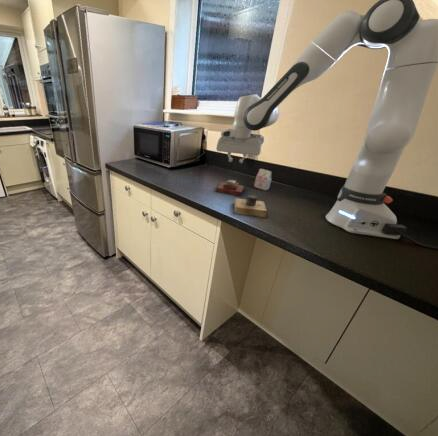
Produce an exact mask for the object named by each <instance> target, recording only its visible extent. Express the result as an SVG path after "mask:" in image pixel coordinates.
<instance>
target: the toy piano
mask: <svg viewBox="0 0 438 436" xmlns="http://www.w3.org/2000/svg"><path fill="white" fill-rule="evenodd" d="M228 181H229V180H226V181H225V182H223V181H222V182H220V183H219V184H218V186H217V187H216V190H215V191H216V193H221V194H227V195H232V196H238V197H241V196H242V194H243V191H244V189H245V185H240V183H239V182H237V181H236V184H235V185H229V184H227V183H228Z"/></svg>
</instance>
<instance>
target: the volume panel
mask: <svg viewBox="0 0 438 436" xmlns="http://www.w3.org/2000/svg"><path fill="white" fill-rule="evenodd" d="M246 199H247V198H246ZM246 199H245V198H237V197H235V198H234V203H233V206H234V214H236V215H237V214H238V215H245V216H253V217H259V218H266V217H267V214H268V210H267V207H266V203H265V201H263V200H257V201H256V205H255V206H249V205H247V204H246Z"/></svg>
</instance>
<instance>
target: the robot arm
mask: <svg viewBox="0 0 438 436" xmlns="http://www.w3.org/2000/svg"><path fill="white" fill-rule="evenodd" d="M355 46H359V47H363V48H366V49H370V50H381V49H387V50H388V56H387V61H386V64H385V68H384V71H383V75H382V78H381V82H380V85H379V88H378V92H377V96H376V98H375V99H376V100H375V102H374V106H373V108H372V111H371V114H370V118H369V121H368V124H367V128H366V131H365V135H364V139H363V142H362V145H361V147H360V149H359V152H358V154H357V156H356V157H355V160H354V162H353V164H352V166H351V169H350V171H349V174H348V175H347V178H346V180H345V183H344V184H343V185H342V186H341V188H340V190H339V192H338V194H337V196H336V197H337V200H336V201H335V203H334V205H333V206H332V208H331V209H330V210H329V212H327V213H326V214H325V219H326V221H327V222H329V223H331V224H332V225H335V226H336V227H339V228H341V229H343V230H344V231H346V232H348V233H351V234H358V235H364V236H365V235H366V236H372V237H379V238H385V239H393V240H399V239H400V238H401V236H402V237H403V238H405V239H407V240H408V241H410V242H411V243H413V244H415V245H417V246H420V247H423V248H428V249H433V250H438V246H434V245H430V244H426V243H422V242H418V241H417V240H415V239H413V238H412V237H410V236H409V235H407V234H405V233H406V232H407V230H408V227H406V226H405V225H404V224H398V219H397V216H396V214H395V213H394V212H393V211H392V210H391V209H390V208H389V206H388V205H386V204H391V203H392V202H393V198H392V197H391V196H389V195H387V194H386V193H385V192H384V190H385V189H386V187H387V185H388V183H389V181H390V180H391V177H392V175H393V173H394V172H395V169H396V167H397V165H398V162H399V161H400V159H401V156H402V154H403V152H404V150H405V148H406V147H407V146H408V145H409V144H410V143H411V142H412V140H413V139H414V137H415V133H416V130H417V127H418V124H419V121H420V118H421V114H422V112H423V109H424V107H425V102H426V99H427V97H428V93H429V90H430V88H431V85H432V82H433V80H434V76H435V73H436V71H437V68H438V18H428V19H421V20H420V13H419V11H418V9H417V7H416V4H415V2H414V0H378V1H377V2H375V3H374V4H373V5H372V6H371V7H370V8H369V9H368V10H367V11H366V13H365V14H360V13H359V12H357V11H354V10H346V11H343V12H341V13H339V14H338V15H337V16H336V17H335V18H334V19H332V20H331V21H330V22H329V23H328V24H327V25H326V26H325V27H324V28H323V29H322V30H321V31H320V32H319V33H318V34H317V35H316V36H315V38H313V39H312V41H311V42H310V43H309V44H308V46H307V47H306V48H305V49H304V50H303V52H301V54H300V56H299V57H298V58H297V59H296V60H295V62H293V64H292V65H291V66H290V68H289V69H288V70H287V72H286V73H284V75H282V77H280V79H279V80H278V81H277V82H276V83H275V84H274V85H273V86H272V87H271V88H270V89H269V90H268V91H267V93H266V94H265V95H264V96H263V97H262V98H261V96H259V95H258V93H248V94H243V95H241V96H240V97H239V98H238V100H237V102H236V105H235V110H234V114H233V117H234V119H233V123H232V125H231V126H232V127H231V128H228V129H224V130H222V131H221V133H220V137H219V138H218V140H217V144H216V147H215V148H216V151H217V152H220V153H227V157H228V163H229V162H230V163H232V162H233V159H234V158H233V157H232V156H231V155H232V154H239V155H242V158H240V159H239V161H238V162H239V164H243V162H244V160H245V159H246V157H247V156H256V157H257V156H259V155H260V154H261V150H262V145H263V144H264V142H265V137H264V136H263V135H262V134H260V133H259V134H256V133H253V131H254V132H255V131H259V130H261V129H264V128H267V127H270V126H272V125H274V124H275V123H276V122H277V121H278V119H279V116H280V109H279V106H280V105H281V104H282V103H283V102H284V101H285V100H286V99H287V97H289V96H290V95H291V93H293V92H294V91H295V90H296V89H298V88H299V87H301V86H303V85H305V84H308V83H310V82H312V81H315V80H318V78H320V77H321V76H322V75H324V74H325V73H326V72H327V71H328V70H330V69H331V68H332V67H333V66H334V65H335V64H336V63H337V62H338V61H339V60H340V59H341V58H342V57H343V56H344V55H345V54H346V53H347V52H348V51H349V50H350V49H352V48H353V47H355Z"/></svg>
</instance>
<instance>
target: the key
mask: <svg viewBox="0 0 438 436" xmlns="http://www.w3.org/2000/svg"><path fill="white" fill-rule="evenodd" d="M227 181H228V183H227V184H229V185H235V184H236V182H237V180H235V179H234V180H233V179H228V180H227Z"/></svg>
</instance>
